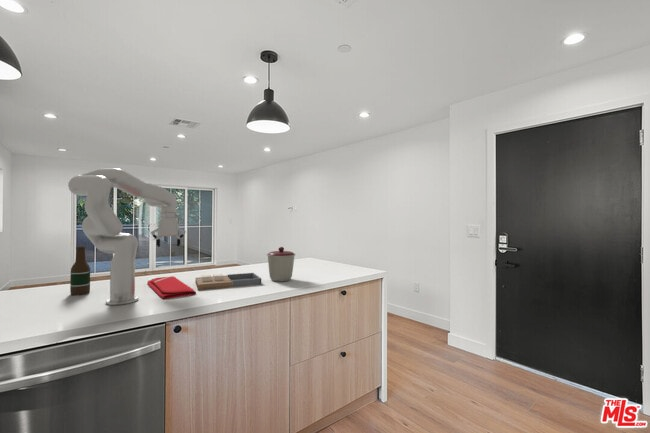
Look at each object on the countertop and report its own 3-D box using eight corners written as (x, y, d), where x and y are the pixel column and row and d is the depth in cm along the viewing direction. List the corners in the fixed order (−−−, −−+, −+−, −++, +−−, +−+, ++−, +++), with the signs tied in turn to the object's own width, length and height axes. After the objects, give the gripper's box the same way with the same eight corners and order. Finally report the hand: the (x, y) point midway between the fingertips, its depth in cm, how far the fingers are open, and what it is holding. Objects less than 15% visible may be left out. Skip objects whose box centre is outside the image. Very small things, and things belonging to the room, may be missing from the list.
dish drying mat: (162, 300, 144) (162, 292, 144) (146, 285, 176) (146, 278, 176) (196, 295, 154) (196, 288, 154) (175, 281, 186) (175, 275, 186)
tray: (261, 284, 179) (261, 278, 179) (233, 286, 171) (233, 280, 171) (253, 278, 196) (253, 272, 196) (227, 280, 189) (227, 274, 189)
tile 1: (211, 280, 173) (211, 276, 173) (201, 281, 171) (201, 277, 171) (210, 279, 178) (210, 274, 178) (201, 279, 175) (201, 275, 175)
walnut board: (232, 287, 171) (232, 281, 171) (198, 290, 163) (198, 284, 163) (226, 280, 189) (226, 275, 189) (195, 282, 181) (195, 277, 181)
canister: (267, 283, 180) (267, 248, 180) (265, 277, 198) (266, 245, 198) (297, 282, 185) (297, 248, 185) (293, 276, 202) (293, 245, 202)
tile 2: (223, 279, 176) (223, 275, 176) (214, 280, 174) (214, 276, 174) (221, 278, 180) (221, 274, 180) (212, 278, 178) (213, 274, 178)
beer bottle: (78, 296, 148) (79, 247, 148) (66, 295, 150) (66, 246, 150) (93, 292, 156) (94, 245, 156) (81, 291, 157) (82, 245, 158)
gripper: (186, 215, 175) (186, 245, 175) (152, 215, 169) (152, 246, 169) (185, 215, 168) (185, 246, 168) (149, 215, 162) (149, 247, 162)
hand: (168, 246), depth 169 cm, fingers open, 9 cm apart
